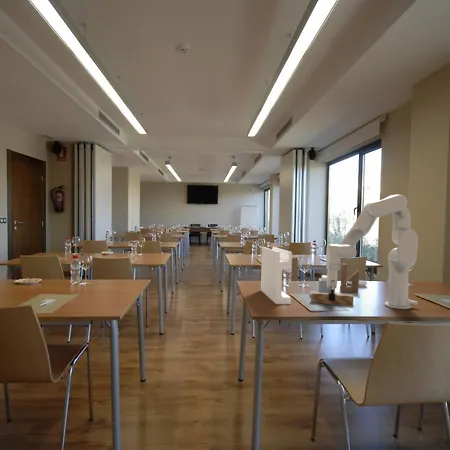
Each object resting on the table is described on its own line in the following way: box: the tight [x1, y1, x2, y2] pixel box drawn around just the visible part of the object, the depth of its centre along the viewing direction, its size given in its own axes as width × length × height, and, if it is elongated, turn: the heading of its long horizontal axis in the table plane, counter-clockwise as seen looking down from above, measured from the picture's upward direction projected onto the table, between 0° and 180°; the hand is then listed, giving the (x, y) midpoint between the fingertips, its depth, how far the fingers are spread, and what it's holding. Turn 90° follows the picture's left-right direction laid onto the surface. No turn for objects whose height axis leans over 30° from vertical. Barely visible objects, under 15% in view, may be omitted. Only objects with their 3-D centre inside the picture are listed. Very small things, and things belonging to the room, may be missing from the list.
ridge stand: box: [309, 274, 338, 298], centre depth 205 cm, size 16×12×12 cm
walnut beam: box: [310, 291, 354, 307], centre depth 188 cm, size 22×4×5 cm, turn 75°
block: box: [260, 246, 293, 305], centre depth 201 cm, size 35×8×28 cm, turn 8°
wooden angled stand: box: [339, 263, 360, 294], centre depth 219 cm, size 4×11×18 cm, turn 82°
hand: (331, 299), depth 188 cm, fingers closed on walnut beam, 4 cm apart
